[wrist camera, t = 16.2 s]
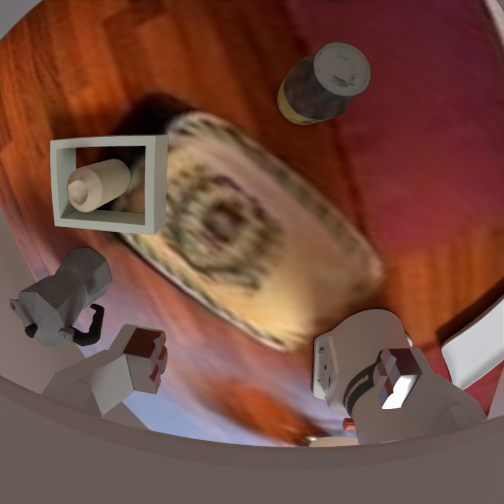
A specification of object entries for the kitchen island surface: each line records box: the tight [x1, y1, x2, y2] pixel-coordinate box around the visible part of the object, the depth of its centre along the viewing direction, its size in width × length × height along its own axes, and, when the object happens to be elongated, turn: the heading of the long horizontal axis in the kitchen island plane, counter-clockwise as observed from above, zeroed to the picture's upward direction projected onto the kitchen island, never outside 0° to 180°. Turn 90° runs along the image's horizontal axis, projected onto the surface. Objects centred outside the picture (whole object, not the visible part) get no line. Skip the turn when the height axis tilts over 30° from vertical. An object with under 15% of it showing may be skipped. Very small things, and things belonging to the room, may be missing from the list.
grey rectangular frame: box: [50, 135, 169, 235], centre depth 37 cm, size 12×16×5 cm
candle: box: [67, 159, 131, 212], centre depth 34 cm, size 6×6×10 cm
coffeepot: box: [9, 248, 112, 348], centre depth 37 cm, size 15×9×18 cm, turn 73°
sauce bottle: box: [277, 42, 371, 125], centre depth 25 cm, size 6×6×20 cm
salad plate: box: [441, 294, 504, 390], centre depth 47 cm, size 21×21×3 cm
